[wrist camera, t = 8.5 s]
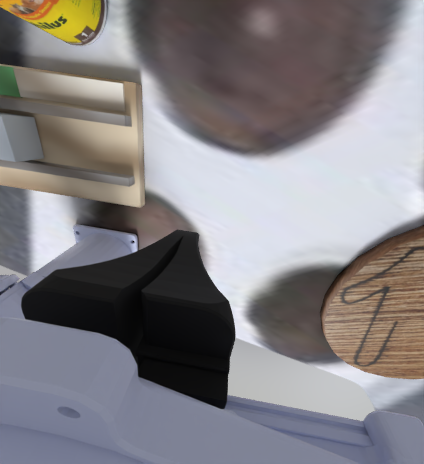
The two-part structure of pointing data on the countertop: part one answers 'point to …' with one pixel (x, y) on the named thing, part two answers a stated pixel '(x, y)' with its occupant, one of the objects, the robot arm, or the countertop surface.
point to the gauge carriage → (19, 138)
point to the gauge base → (77, 135)
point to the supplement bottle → (63, 17)
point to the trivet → (380, 309)
